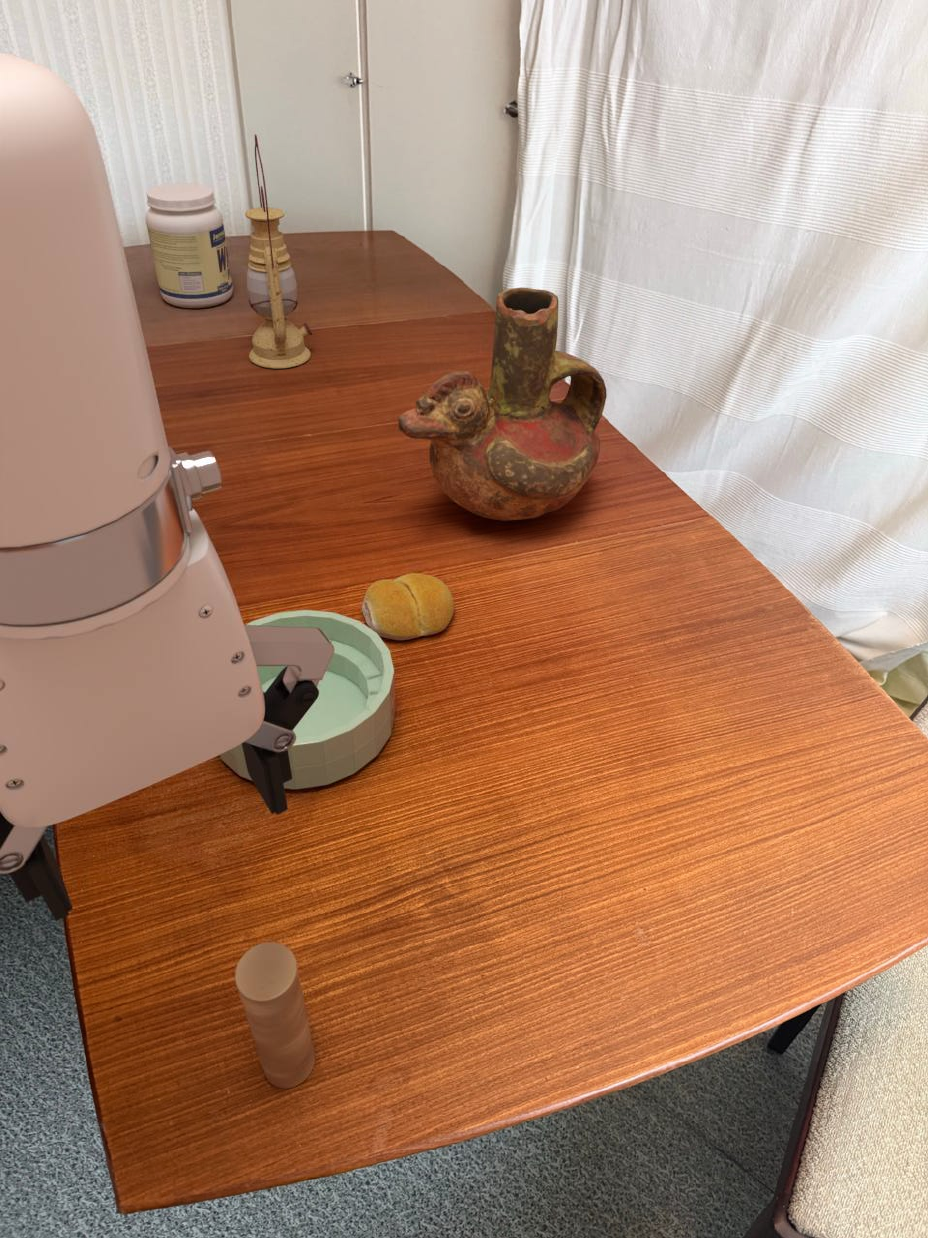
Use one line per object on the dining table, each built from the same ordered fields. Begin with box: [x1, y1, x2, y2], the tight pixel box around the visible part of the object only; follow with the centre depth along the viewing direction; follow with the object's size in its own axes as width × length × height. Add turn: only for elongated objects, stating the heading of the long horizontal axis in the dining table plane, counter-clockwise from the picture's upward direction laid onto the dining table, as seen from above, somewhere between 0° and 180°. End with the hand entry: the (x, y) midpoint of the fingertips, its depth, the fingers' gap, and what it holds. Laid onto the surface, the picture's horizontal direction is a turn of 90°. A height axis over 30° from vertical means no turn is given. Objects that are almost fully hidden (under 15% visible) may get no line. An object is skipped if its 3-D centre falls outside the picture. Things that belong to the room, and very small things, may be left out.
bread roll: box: [361, 572, 455, 641], centre depth 82 cm, size 8×9×4 cm
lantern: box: [244, 133, 313, 369], centre depth 117 cm, size 12×10×30 cm
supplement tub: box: [145, 182, 234, 309], centre depth 138 cm, size 12×12×17 cm
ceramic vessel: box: [397, 287, 608, 522], centre depth 90 cm, size 17×26×25 cm, turn 121°
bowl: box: [218, 609, 396, 790], centre depth 70 cm, size 16×16×6 cm
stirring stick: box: [234, 941, 316, 1089], centre depth 48 cm, size 3×3×12 cm
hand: (168, 838), depth 37 cm, fingers open, 9 cm apart
